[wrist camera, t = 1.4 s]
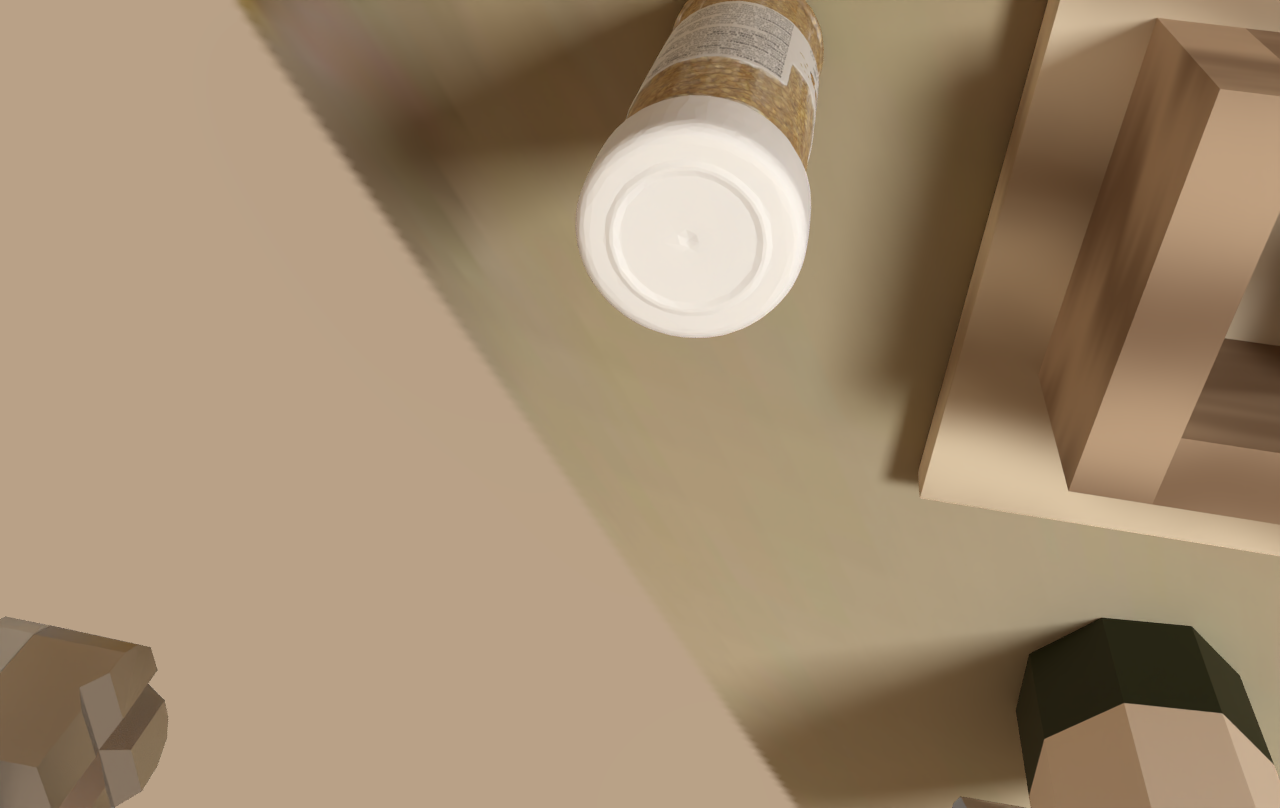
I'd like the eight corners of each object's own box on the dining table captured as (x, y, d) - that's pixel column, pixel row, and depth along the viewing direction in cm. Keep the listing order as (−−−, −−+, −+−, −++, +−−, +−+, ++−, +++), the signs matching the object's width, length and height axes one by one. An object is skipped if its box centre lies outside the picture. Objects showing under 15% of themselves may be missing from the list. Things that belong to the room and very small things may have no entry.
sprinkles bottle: (798, 142, 33) (768, 372, 22) (653, 102, 33) (551, 311, 22) (847, -10, 31) (840, 164, 20) (689, -54, 31) (595, 96, 20)
